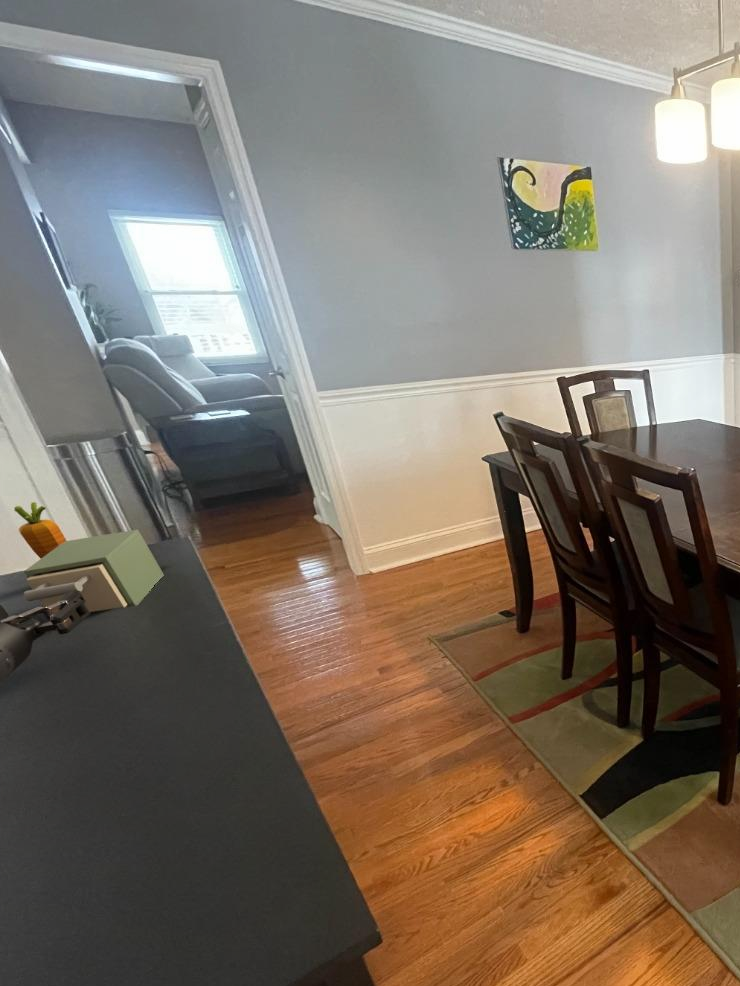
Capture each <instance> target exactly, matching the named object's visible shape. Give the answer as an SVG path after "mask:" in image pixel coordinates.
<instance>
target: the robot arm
mask: <svg viewBox="0 0 740 986" xmlns="http://www.w3.org/2000/svg"><path fill="white" fill-rule="evenodd" d="M85 602H86V601H85V599H84V598H83V596H82V595H81V593H78V591H71V592H68V593H67V594H66V595H65V596H64V597H63V598H62V599H60V600H59V601H58V602H57V603H55V604H53V605H50V606H48V607H44V606H37V607H34V608H31V609H30V610H27V611H25V612H22V613H20V614H18V615H10V616H9V614H8V612H7V610H6V609H5V608H4V607H3V605H2V604H0V684H2V682H3V681H5V680H6V679H7V678H8V677H9V676H10V675H11V674H12V673H13V672H14V671H15V670H17V668H18V667H20V666H21V665H22V664H23V663H24V662H25V661H26V660H27V659H28V658H29V656H30V655H31V652H32V648H33V642H34V641H36V640H37V639H39V638H40V637H43V636H45V635H46V634H47V633H49V632H52V631H57V633H58V634H59V635H66V634H68V633H70V632H72V631H73V630H74V629H75V628H76V627H78V625H80V624H81V623H82V622H83V621H84V620H85V619H86V618H88V617H89V616H90V615H91V612H89V610H88V609H87V607H86V606H85V604H84V603H85ZM57 609H60V611H59V612H57V613H56V614H55V615H53V614H52V612H53V611H54V610H57ZM37 615H38V616H40V618H41V619H42V620H43V622H44V623H42V622H41V621H40V620H38V619H37V618H35V616H37Z"/></svg>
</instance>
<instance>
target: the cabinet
mask: <svg viewBox="0 0 740 986" xmlns="http://www.w3.org/2000/svg"><path fill="white" fill-rule="evenodd" d="M101 562H103V564H104V566H105V568H106V569H107V571H108V572H109V574H110V576H111V577H112V579H113V580H114V582H115V584H116V585H117V587H118V589H119V590H120V592H121V593H122V595H123V597H124V598H125V602H126V603H127V606H126V607H125V608H127V607H128V608H129V607H135V606H138V605H139V604H140V603H141V602H143V600H144V599H145V598H146V596H148V594H149V593H150V592H151V591H152V590H153V589H154V588H155V587H154V585H155V584H156V583H157V582H158V581H159V580H160V579H161V578H162V577H163V576H164V577H165V575H164V572H163V571H162V569H161V567H160V565H159V564H158V561H157V560H156V559H155V557H154V555H153V553H152V551H151V550H150V548H149V546H148V544H147V543H146V540H145V539H144V538H143V536H142V534H141V532H140V530H139V529H133V530H132V529H131V530H126V531H119V532H114V533H108V534H107V533H106V534H102V535H101V534H100V535H96V536H89V537H83V538H82V537H81V538H76V539H71V540H66V541H65V542H63V543H62V544H61V545H59V546H58V547H57V548H55V549H54V550H52V551H51V552H50V553H48V554H47V555H46V556H44V557H43V558H39V559H38V560H37V561H36V562H34V563H33V564H32V565H30V566H29V567H28V568H26V569H25V570H23V573H24V575H25V576H26V577H27V579H28V578H29V577H33V576H39V575H42V574H41V573H44V572H50V571H56V570H61V569H67V568H73V567H79V566H84V565H90V564H96V563H101ZM164 577H163V578H164ZM163 578H162V579H163ZM162 579H161V580H162ZM161 580H160V581H161ZM160 581H159V582H160ZM159 582H158V583H159ZM158 583H157V584H158ZM157 584H156V585H157ZM156 585H155V586H156ZM153 587H154V588H153ZM152 588H153V589H152ZM151 589H152V590H151ZM149 591H150V592H149ZM144 597H145V598H144Z"/></svg>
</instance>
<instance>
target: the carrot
mask: <svg viewBox="0 0 740 986" xmlns="http://www.w3.org/2000/svg"><path fill="white" fill-rule="evenodd" d="M13 509H14V512H16V513H17V514H18V515H19V516H20V517H21V518H22V519H23V520H25V521H26V522H27V523H24V524H21V526H19V528H18V532H19V534H20V535H21V536H22V538H23V539H24V541H25V542H26V544H27V545H28V547H30V549H31V550H32V551H33V552H34V554H35V555H36V556H37V557H38V558H39V559H41V558H43V557H44V556H46V555H47V554H48V553H50V552H51V551H52V550H54V549H55V548H57V547H58V546H59V545H61V544H62V543H63V542H65V541H67V538H66V537H65V535H64V533H63V531H62V530H61V528H60V527H59V525H58V524H57V523H56V522H55V521H53V520H52V519H41V515H42V513H43V511H45V510H46V509H47V507H46V506H44V505H41V506H39V507H38V508H37V502H35V501H34V502H31V503H30V510H31V512H30V513H29V512H28V511H26V510H25V509H24V508H23V507H22V506H21V505H16V506H15V507H14V508H13Z"/></svg>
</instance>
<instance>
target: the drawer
mask: <svg viewBox="0 0 740 986" xmlns="http://www.w3.org/2000/svg"><path fill="white" fill-rule="evenodd" d="M41 574H42V575H39V576H33V577H29V578H28V577H27V579H26V580H25V582H26V583H27V584H28V586H29V587H30V590H25V591H24V592H23V597H24V599H25V600H26V601H28V602H33V601H38V600H39V601H40V603H41V604H42V605H43V606H42V607H48V606H50V605H53V604H55V603H57V602H58V601H59V600H60V599H62V598H63V597H64V596H65V595H66V594H67V593H68V592H71V591H78V593H81V595H82V596H83V598H84V599H85V601H86V602H85V603H84V604H85V606H86V607H87V609H88V610H89V612H90V613H92V612H99V611H100V612H101V611H107V610H115V609H121V608H127V607H126V606H127V603H126V602H125V598H124V597H123V595H122V593H121V592H120V590H119V589H118V587H117V585H116V584H115V582H114V580H113V579H112V577H111V576H110V574H109V572H108V571H107V569H106V568H105V566H104V564H103V562H101V563H96V564H90V565H84V566H79V567H73V568H67V569H61V570H56V571H50V572H44V573H41ZM59 611H60V609H57V610H54V611H53V612H52V614H53V615H55V614H56V613H57V612H59Z"/></svg>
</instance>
